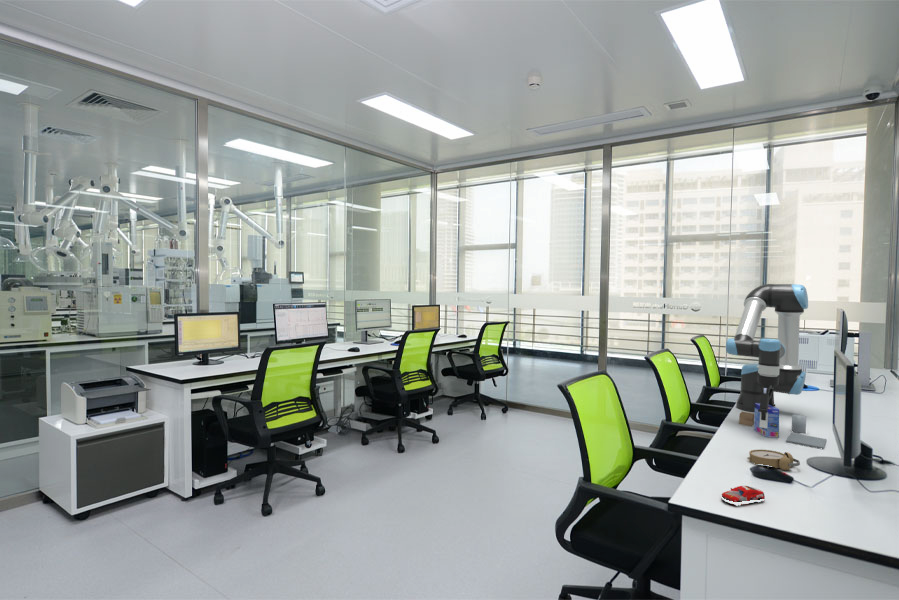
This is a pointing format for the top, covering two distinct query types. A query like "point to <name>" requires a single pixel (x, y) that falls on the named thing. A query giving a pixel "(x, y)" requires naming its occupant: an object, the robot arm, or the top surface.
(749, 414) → the walnut cube
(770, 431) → the ink cartridge box
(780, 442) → the top surface
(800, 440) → the charcoal mat
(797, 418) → the slate cylinder
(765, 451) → the alarm clock
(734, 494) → the race car
